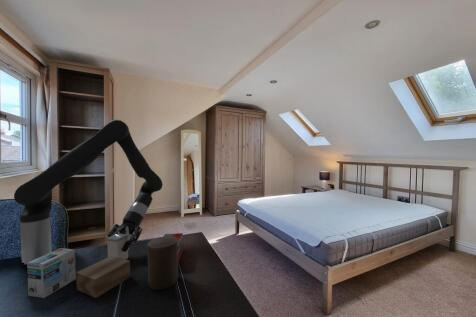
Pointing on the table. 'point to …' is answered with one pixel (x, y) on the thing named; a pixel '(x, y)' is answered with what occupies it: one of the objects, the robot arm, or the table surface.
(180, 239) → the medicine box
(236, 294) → the table surface
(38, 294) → the light bulb box
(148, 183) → the robot arm
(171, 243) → the pillar candle
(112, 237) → the pale grey tall block
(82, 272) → the walnut block
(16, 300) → the table surface
